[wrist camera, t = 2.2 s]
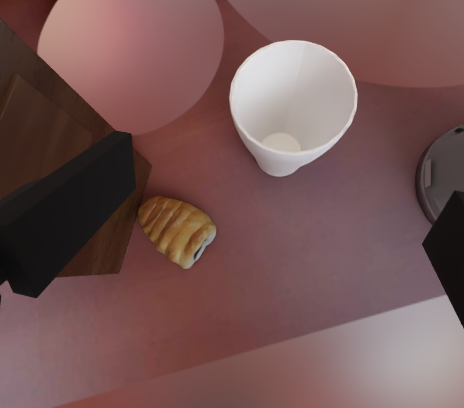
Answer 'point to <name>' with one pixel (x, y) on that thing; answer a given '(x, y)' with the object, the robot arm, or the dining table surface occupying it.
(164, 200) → the pastry
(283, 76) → the cup
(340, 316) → the dining table surface
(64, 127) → the stove stand
